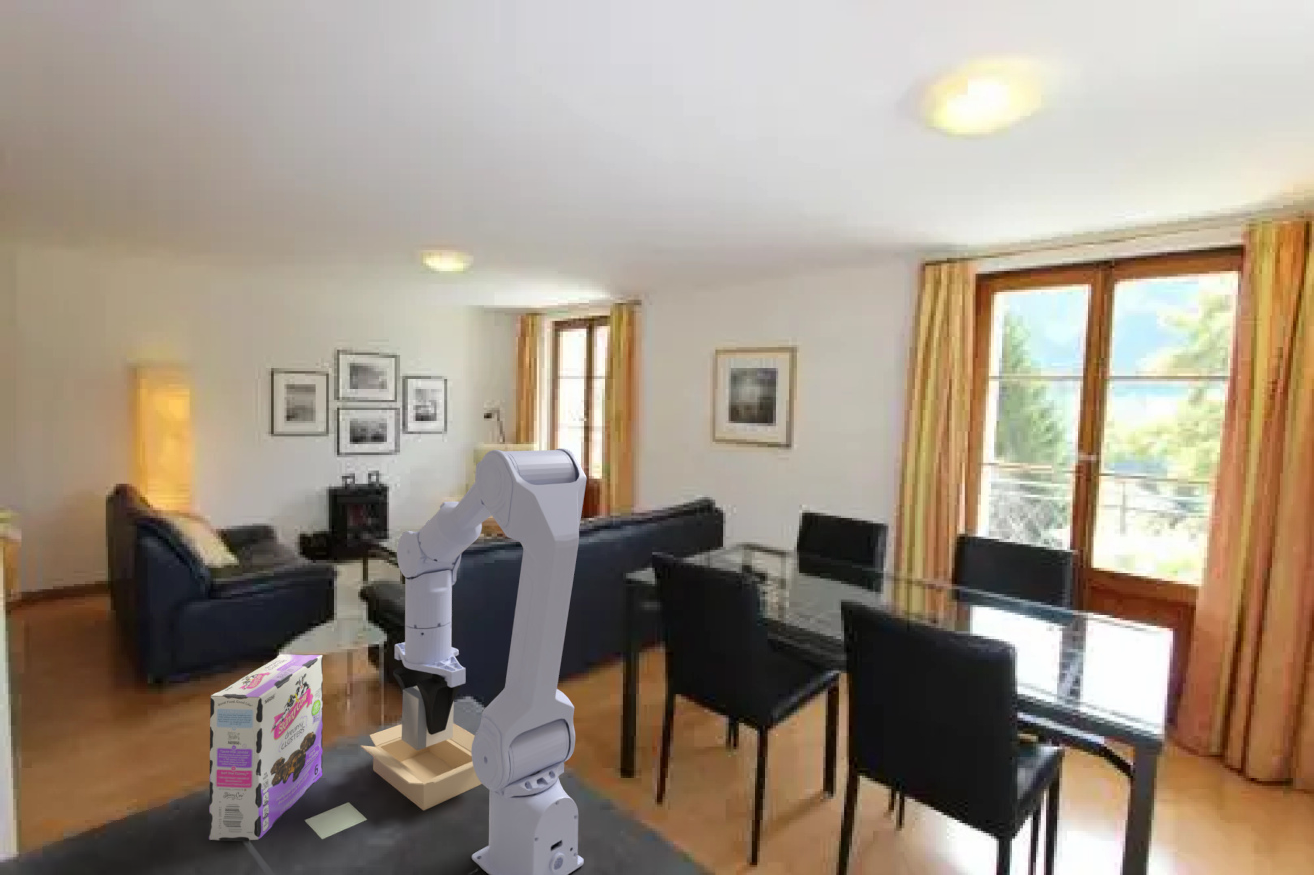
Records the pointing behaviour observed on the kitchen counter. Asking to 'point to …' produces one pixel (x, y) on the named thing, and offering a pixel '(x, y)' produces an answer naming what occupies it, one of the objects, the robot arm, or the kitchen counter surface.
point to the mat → (335, 820)
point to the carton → (425, 766)
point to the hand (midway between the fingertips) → (427, 725)
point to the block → (420, 721)
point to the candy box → (264, 746)
